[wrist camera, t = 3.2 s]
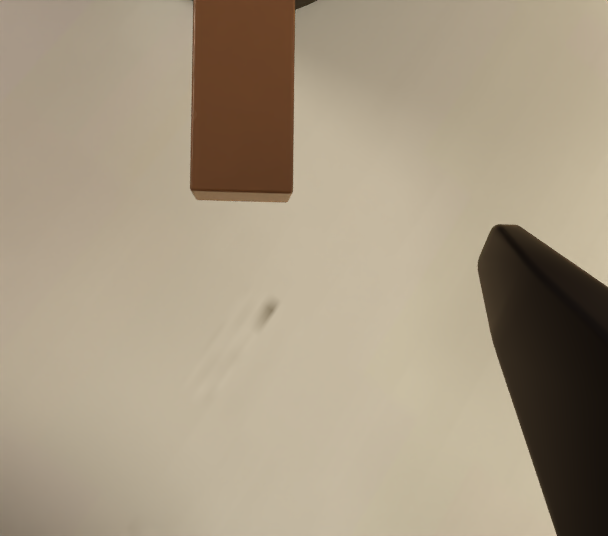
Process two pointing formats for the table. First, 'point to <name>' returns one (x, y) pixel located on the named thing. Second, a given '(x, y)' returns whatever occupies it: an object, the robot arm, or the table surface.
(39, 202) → the table surface
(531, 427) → the robot arm
